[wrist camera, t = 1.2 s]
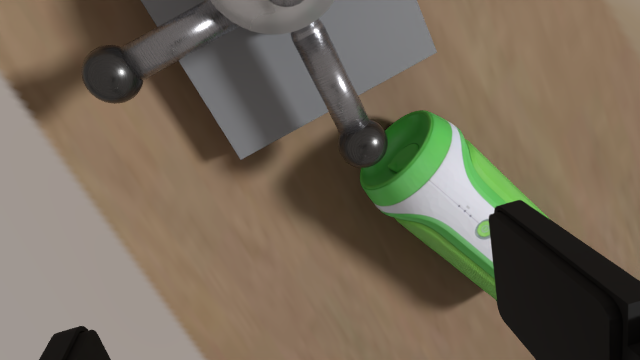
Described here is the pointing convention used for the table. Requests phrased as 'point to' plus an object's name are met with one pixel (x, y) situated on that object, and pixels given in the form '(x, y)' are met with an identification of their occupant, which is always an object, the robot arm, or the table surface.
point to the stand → (295, 66)
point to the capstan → (258, 16)
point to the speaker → (441, 192)
